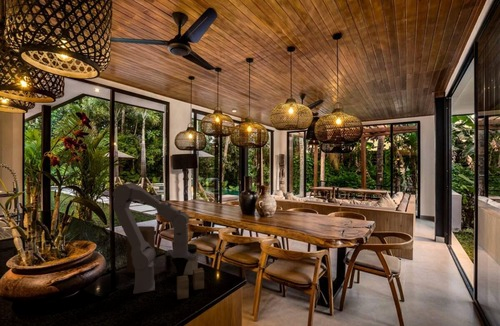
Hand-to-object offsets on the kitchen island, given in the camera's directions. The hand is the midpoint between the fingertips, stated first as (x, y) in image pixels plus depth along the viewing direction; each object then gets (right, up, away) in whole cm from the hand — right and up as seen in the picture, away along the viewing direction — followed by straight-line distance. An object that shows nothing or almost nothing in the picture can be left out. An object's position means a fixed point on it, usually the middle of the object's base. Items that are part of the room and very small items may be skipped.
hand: (180, 275), depth 105 cm
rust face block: (+7, -5, +1) cm, 9 cm away
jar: (-1, -6, +16) cm, 17 cm away
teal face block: (+3, -5, -6) cm, 9 cm away
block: (-24, -6, +18) cm, 31 cm away
